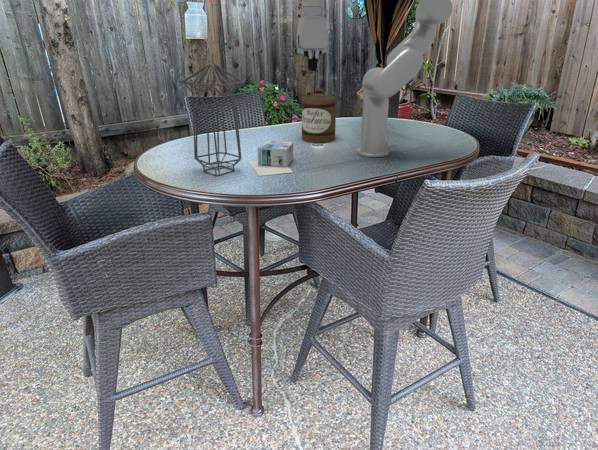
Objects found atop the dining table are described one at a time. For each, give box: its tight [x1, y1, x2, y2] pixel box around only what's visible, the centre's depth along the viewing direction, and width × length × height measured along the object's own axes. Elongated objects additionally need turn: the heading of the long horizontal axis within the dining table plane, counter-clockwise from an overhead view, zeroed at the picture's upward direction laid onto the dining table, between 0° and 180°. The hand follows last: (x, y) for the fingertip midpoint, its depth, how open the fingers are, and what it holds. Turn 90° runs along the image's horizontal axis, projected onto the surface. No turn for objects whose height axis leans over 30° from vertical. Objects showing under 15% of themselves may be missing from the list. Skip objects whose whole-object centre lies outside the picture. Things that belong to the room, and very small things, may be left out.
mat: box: [247, 160, 294, 177], centre depth 152 cm, size 12×18×1 cm, turn 19°
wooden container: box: [301, 87, 337, 144], centre depth 186 cm, size 15×15×22 cm
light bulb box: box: [257, 140, 294, 167], centre depth 155 cm, size 11×7×11 cm
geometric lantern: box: [181, 63, 246, 177], centre depth 141 cm, size 16×16×35 cm
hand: (312, 70), depth 152 cm, fingers closed
